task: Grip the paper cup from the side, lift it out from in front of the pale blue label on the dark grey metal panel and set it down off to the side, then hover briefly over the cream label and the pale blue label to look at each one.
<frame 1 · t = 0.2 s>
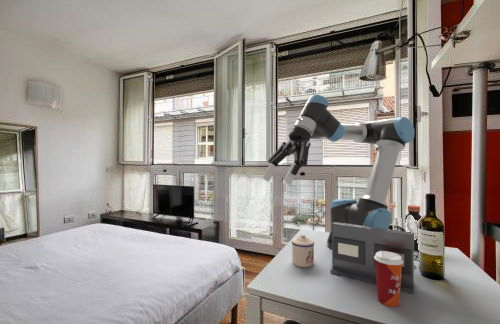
hand: (275, 181, 87), 35 cm above the table, tool tilted 35°, fingers open, 13 cm apart
bottle: (413, 248, 119), on the table
teacup with lid: (304, 262, 105), on the table
paper cup: (388, 302, 76), on the table
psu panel: (370, 277, 90), on the table
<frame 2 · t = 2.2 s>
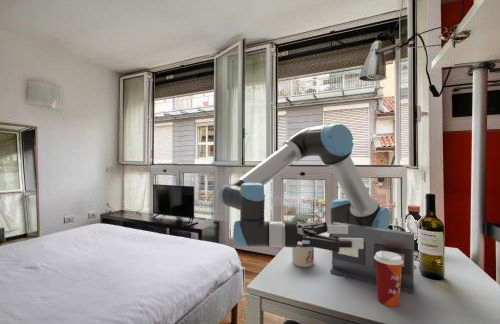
hand: (354, 235, 76), 20 cm above the table, tool horizontal, fingers open, 13 cm apart
nothing on the table moved.
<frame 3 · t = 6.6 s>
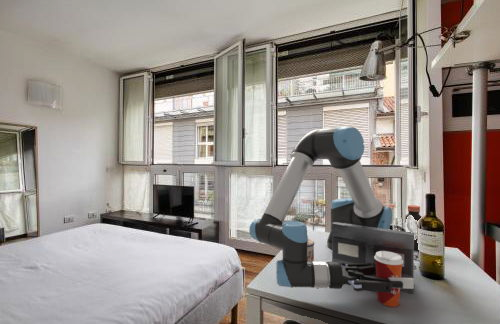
hand: (405, 277, 75), 8 cm above the table, tool horizontal, fingers closed on paper cup, 7 cm apart
paper cup: (388, 302, 76), on the table, touching gripper
everything else where it was.
when the fingers open (8 cm above the table, at t = 11.8 s): paper cup moves 4 cm, on the table.
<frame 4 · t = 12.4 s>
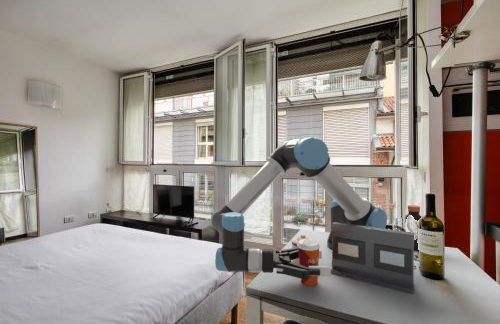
hand: (325, 262, 84), 8 cm above the table, tool horizontal, fingers open, 13 cm apart
paper cup: (309, 281, 88), on the table, touching gripper
everything else where it was.
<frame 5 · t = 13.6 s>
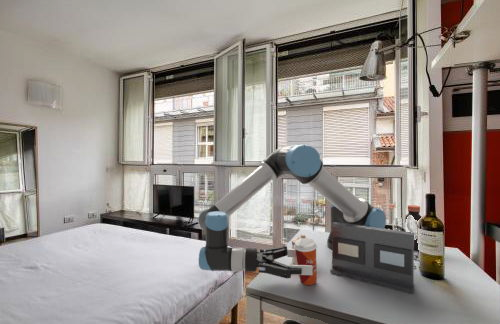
hand: (308, 261, 84), 9 cm above the table, tool horizontal, fingers open, 13 cm apart
paper cup: (308, 280, 88), on the table
everything else where it was.
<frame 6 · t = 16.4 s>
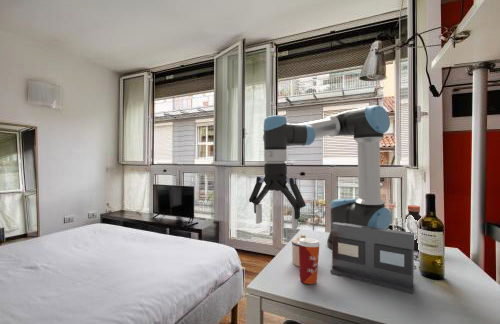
hand: (276, 225, 85), 20 cm above the table, tool pointing down, fingers open, 13 cm apart
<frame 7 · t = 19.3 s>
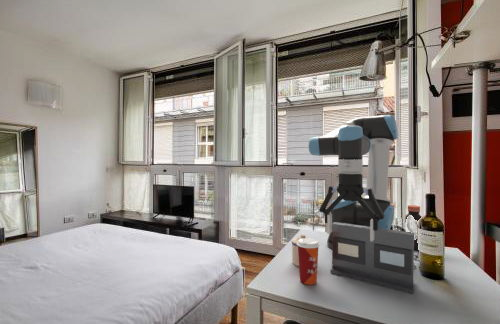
hand: (349, 236, 84), 17 cm above the table, tool pointing down, fingers open, 13 cm apart
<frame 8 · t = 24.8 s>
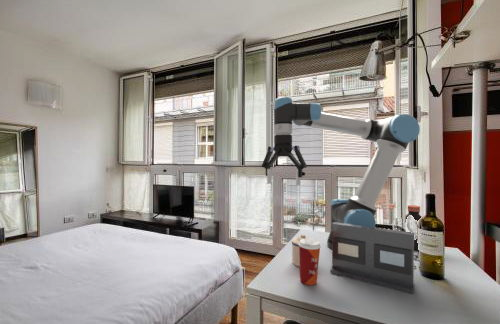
hand: (283, 184, 108), 32 cm above the table, tool pointing down, fingers open, 13 cm apart
at the end: paper cup inside the target area (4.4 cm from its centre), on the table; paper cup tilted 2°; the gripper is holding nothing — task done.
